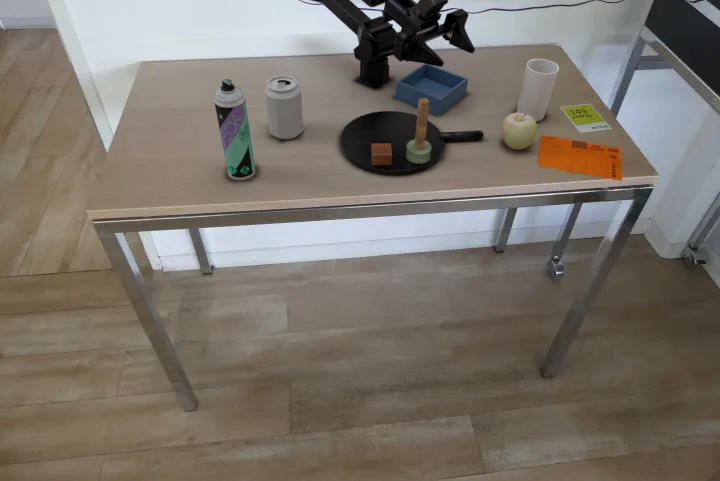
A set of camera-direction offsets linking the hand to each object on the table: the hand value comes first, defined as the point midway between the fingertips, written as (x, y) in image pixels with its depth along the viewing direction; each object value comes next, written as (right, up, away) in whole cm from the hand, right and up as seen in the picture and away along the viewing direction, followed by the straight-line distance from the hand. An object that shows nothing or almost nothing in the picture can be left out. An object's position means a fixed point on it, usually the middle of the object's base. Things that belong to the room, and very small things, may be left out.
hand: (458, 57), depth 114 cm
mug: (+19, -7, +16) cm, 26 cm away
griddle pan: (-9, -16, +7) cm, 19 cm away
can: (-36, -13, +9) cm, 40 cm away
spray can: (-44, -23, -2) cm, 50 cm away
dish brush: (-8, -20, +1) cm, 22 cm away
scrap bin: (-3, -2, +20) cm, 21 cm away
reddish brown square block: (-16, -21, 0) cm, 26 cm away
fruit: (+13, -17, +7) cm, 22 cm away
